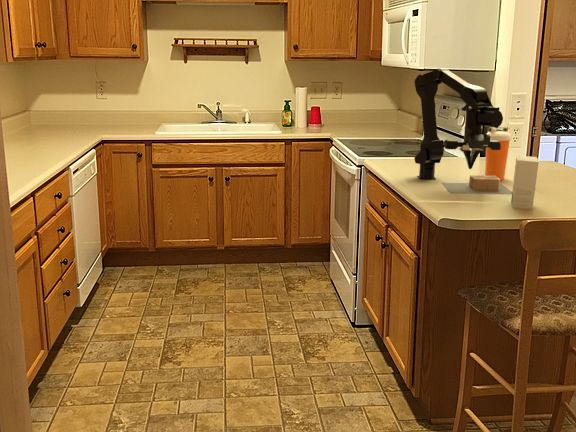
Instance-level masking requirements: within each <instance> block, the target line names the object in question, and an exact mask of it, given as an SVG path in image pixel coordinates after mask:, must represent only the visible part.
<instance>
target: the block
mask: <svg viewBox="0 0 576 432" xmlns="http://www.w3.org/2000/svg"><path fill="white" fill-rule="evenodd" d="M468 183H469V187H470V188H471V189H473V190H486V191H499V189H500V184H501V180H500V179H499V178H498V177H496V176H485V174H484V175H482V174H479V175H475V174H474V175H469V181H468Z"/></svg>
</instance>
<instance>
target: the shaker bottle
mask: <svg viewBox="0 0 576 432" xmlns="http://www.w3.org/2000/svg"><path fill="white" fill-rule="evenodd" d="M509 129H510V127H507V126H505V127H504V126H503V127H502V126H499V127H497V128H494V127H488V128H487V133H486V134H490V140H497V141H499V142H500V143H501V150H491V149H490V148H489V147H485V162H484V163H485V166H484V167H485V168H484V170H485V171H484V176H496V177H498V178H499V179H500V181H504V180H505V176H506V167H507V161H508V153H509V147H510V142H511V138H512V137H511V133H510V132H509V131H508V130H509Z"/></svg>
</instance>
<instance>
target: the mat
mask: <svg viewBox="0 0 576 432" xmlns="http://www.w3.org/2000/svg"><path fill="white" fill-rule="evenodd" d="M441 185H442V186H443V187H444V188H445V190H447V191H448V192H449V194H461V195H462V194H463V195H465V194H469V195H472V194H473V195H512V190H510V189H509V188H508V187H507V186H505V185H504V184H502V183H500V189H499V191H486V190H473V189H471V188H470V187H469V182H441Z"/></svg>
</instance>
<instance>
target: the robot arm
mask: <svg viewBox="0 0 576 432" xmlns="http://www.w3.org/2000/svg"><path fill="white" fill-rule="evenodd" d="M441 84H444V85H445V86H447V87H449V88H450V89H452V90H453V91H454V92H456V93H458V95H459V96H460V99H461V100H462V101H463V102H464V103H465V105H464V106H462V108H461V111H462V112H463V111H465V119H464V120H465V121H464V128H463V129H464V133H463V141H458V140H456V139H455V138H454V139H449V138H446V139H445V140H443V139H440V138H439V136H438V128H437V127H438V126H437V116H436V114H437V113H436V101H435V98H436V95H437V93H438V91H439V85H441ZM414 87H415V91H416V94H417V95H418V97H419V99H420V105H421V106H420V107H421V116H422V117H421V118H422V128H423V129H422V130H423V139H422V141H421V143H420V145H419V146H420V150H419V152H418V153H417V154H416V155H415V156H414V162H415V163H414V164H417V165H419V173H418V175H417V176H416V177H417V179H418V180H429V181H431V180H433V181H435V180H437V178H436V177H435V174H436V173H435V171H436V170H435V169H436V164H439V163H440V164H441V160H442V158H443V156H444V151H446V150H457V149H458V148H459V151H460V152H462V153H463V155H464V157H465V161H466V163H467V168H468V169H469V170H472V169H473V167H474V164H475V162H476V160H477V158H478V157H479V155H480V154H482V153H484V148H486V147H489V148H490V149H491V150H501V143H500V142H499V141H497V140H490V134H487V133H486V134H483V127H486V128H487V127H488V128H489V127H493V128H498V127H501V126H502V124H503V121H504V116H503V114H502V112H501V111H500V107H499V106H493V104H492V101H491V99H490V96H489V95H488V91H487V89H486V88H484V87H482V86H479V85H475V84H471V83H469V82H468V81H465V80H464V79H462V78H461V77H459V76H458V75H456V74H455V73H453V72H452V71H450V69H449V68H447V67H445V68H444V67H440V68H436V69H434V70H432V71H430V72H426V73H423V74H417V76H416V78H415V79H414Z"/></svg>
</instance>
